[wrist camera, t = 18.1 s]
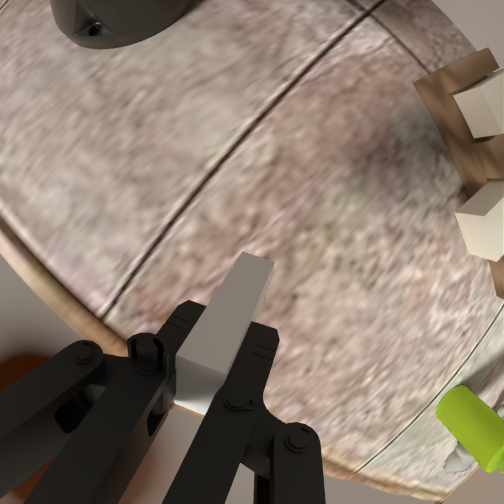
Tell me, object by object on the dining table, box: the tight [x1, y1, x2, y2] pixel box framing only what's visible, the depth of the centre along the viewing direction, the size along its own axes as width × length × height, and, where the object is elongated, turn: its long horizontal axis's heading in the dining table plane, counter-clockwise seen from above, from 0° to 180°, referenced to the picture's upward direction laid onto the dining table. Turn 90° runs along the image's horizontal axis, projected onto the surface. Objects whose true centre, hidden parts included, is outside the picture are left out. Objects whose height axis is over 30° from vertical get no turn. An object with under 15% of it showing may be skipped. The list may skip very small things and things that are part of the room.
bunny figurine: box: [443, 404, 504, 474], centre depth 34 cm, size 10×5×15 cm
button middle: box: [455, 178, 504, 262], centre depth 22 cm, size 4×9×4 cm, turn 123°
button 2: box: [453, 69, 504, 138], centre depth 20 cm, size 4×9×4 cm, turn 123°
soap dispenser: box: [436, 385, 504, 475], centre depth 23 cm, size 6×7×20 cm
